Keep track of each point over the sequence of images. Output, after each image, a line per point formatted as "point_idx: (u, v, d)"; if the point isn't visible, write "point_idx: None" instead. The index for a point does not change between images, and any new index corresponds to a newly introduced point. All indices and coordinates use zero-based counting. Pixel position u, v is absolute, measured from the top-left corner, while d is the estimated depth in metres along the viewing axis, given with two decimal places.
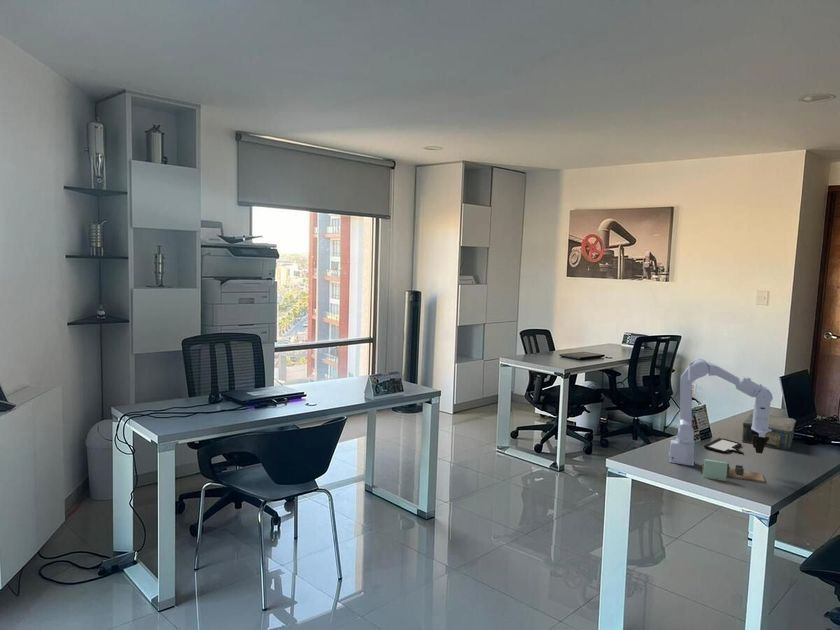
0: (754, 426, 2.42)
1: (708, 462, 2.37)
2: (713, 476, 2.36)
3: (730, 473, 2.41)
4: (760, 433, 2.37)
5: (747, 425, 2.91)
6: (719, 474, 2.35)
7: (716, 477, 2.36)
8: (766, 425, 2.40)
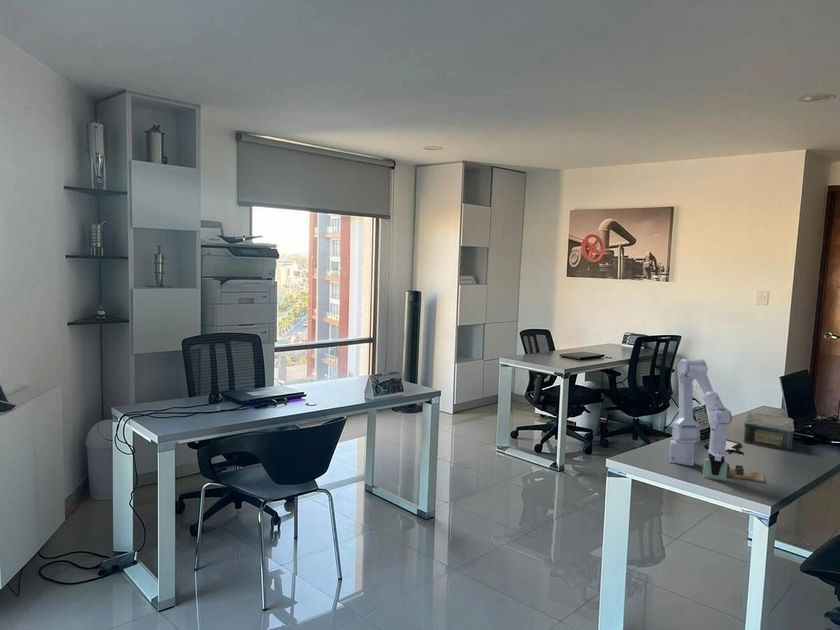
0: (711, 449, 2.35)
1: (708, 462, 2.37)
2: (713, 476, 2.36)
3: (730, 473, 2.41)
4: (716, 457, 2.30)
5: (749, 426, 2.90)
6: (719, 474, 2.35)
7: (716, 477, 2.36)
8: (723, 448, 2.33)
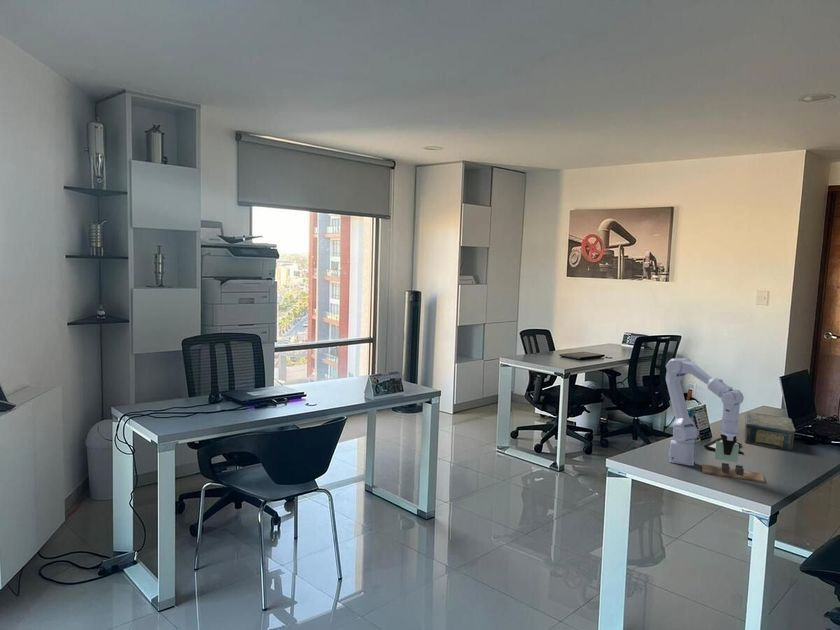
0: (723, 429, 2.38)
1: (720, 444, 2.40)
2: (725, 458, 2.40)
3: (730, 473, 2.41)
4: (728, 436, 2.33)
5: (750, 426, 2.90)
6: (731, 456, 2.39)
7: (728, 459, 2.39)
8: (735, 428, 2.36)
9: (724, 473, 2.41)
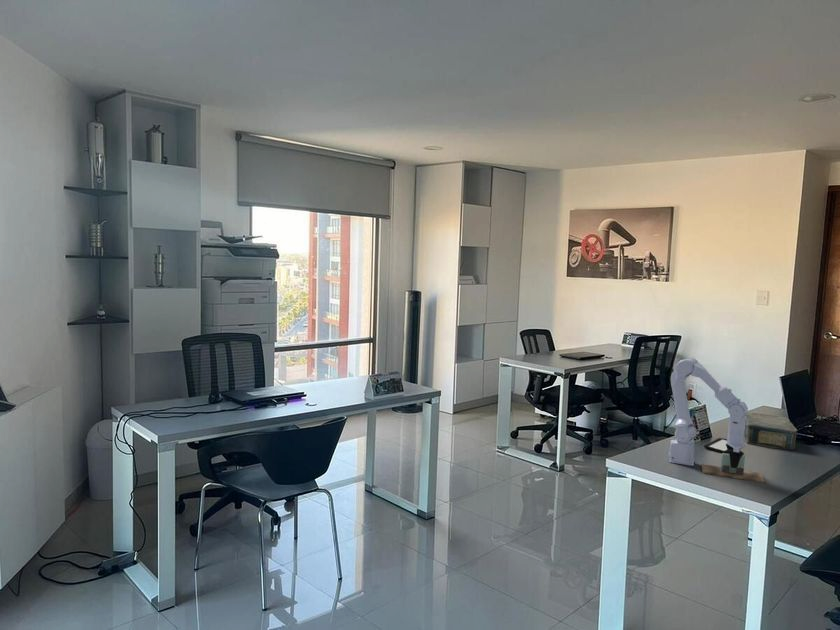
0: (729, 441, 2.41)
1: (726, 456, 2.43)
2: (731, 469, 2.43)
3: (730, 473, 2.41)
4: (734, 448, 2.36)
5: (753, 427, 2.88)
6: None
7: (734, 470, 2.42)
8: (741, 440, 2.40)
9: (724, 473, 2.41)
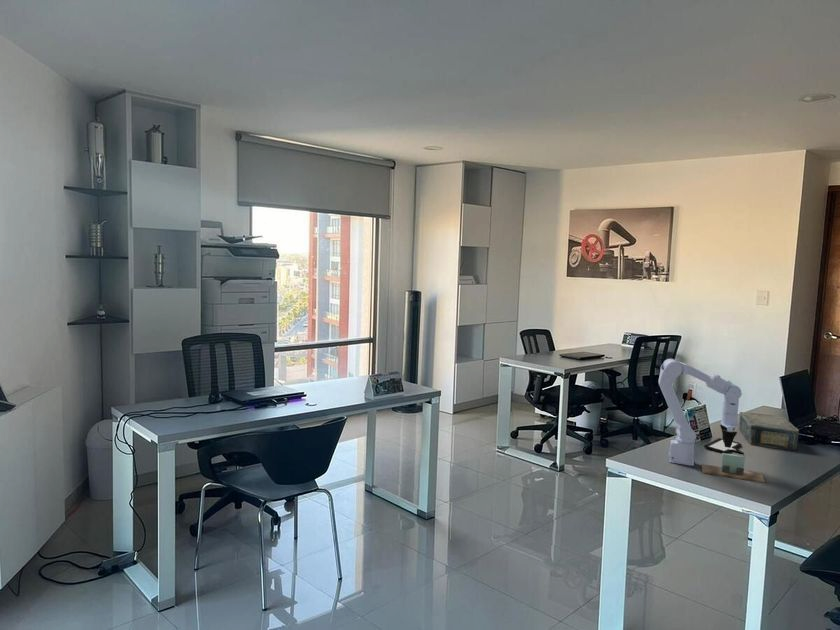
0: (723, 421, 2.50)
1: (726, 456, 2.43)
2: (731, 469, 2.43)
3: (730, 473, 2.41)
4: (728, 428, 2.45)
5: (755, 427, 2.87)
6: None
7: (734, 470, 2.42)
8: (734, 420, 2.48)
9: (724, 473, 2.41)
